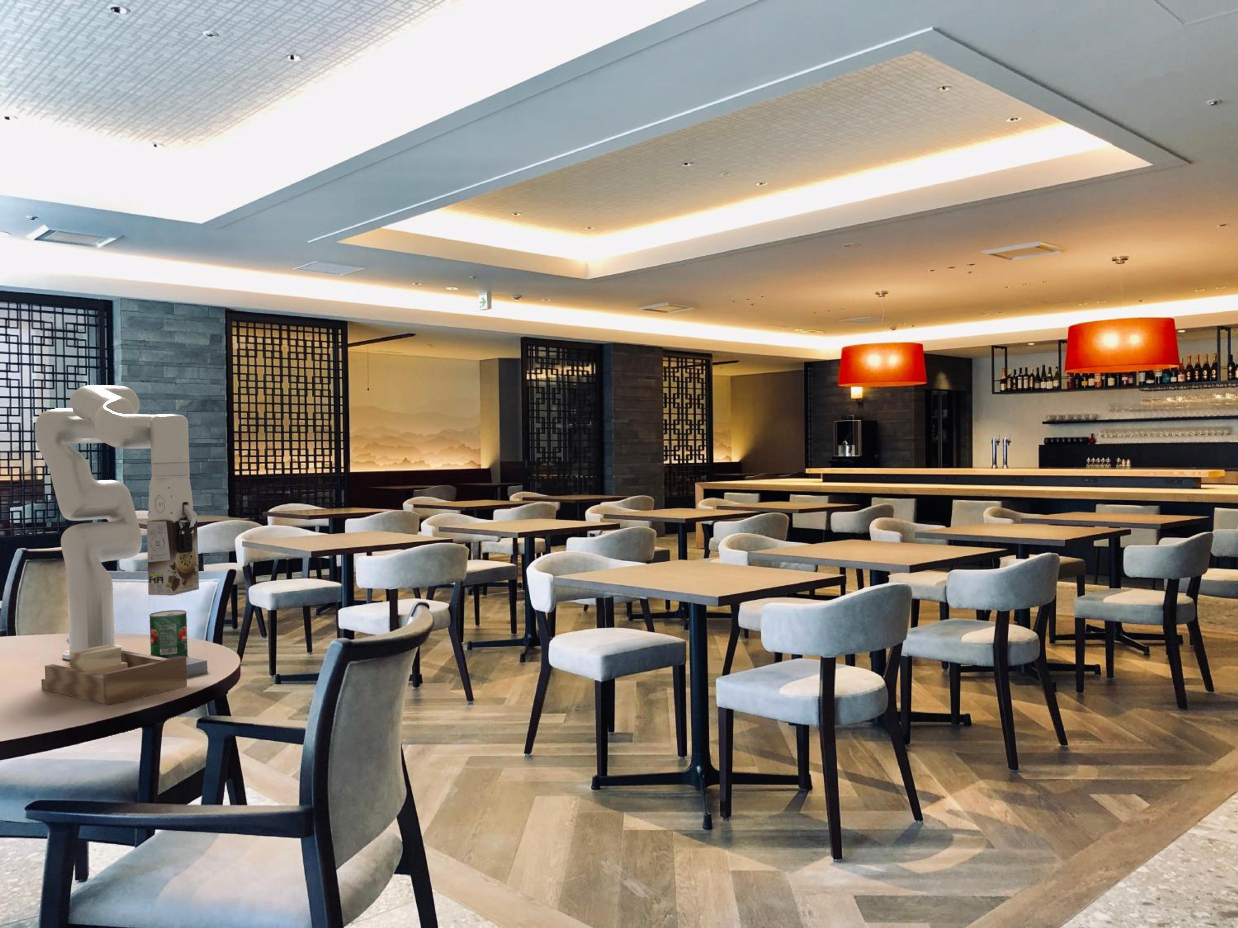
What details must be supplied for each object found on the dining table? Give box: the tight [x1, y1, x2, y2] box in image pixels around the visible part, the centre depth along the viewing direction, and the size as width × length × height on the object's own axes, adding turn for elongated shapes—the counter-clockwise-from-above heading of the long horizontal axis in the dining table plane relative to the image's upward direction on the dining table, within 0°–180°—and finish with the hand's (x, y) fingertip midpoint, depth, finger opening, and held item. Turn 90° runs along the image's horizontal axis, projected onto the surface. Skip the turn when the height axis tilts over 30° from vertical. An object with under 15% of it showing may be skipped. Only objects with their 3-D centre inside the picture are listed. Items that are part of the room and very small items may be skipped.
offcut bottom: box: [87, 662, 128, 675], centre depth 204 cm, size 6×10×4 cm, turn 147°
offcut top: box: [69, 645, 122, 671], centre depth 204 cm, size 5×8×4 cm, turn 145°
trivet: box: [167, 656, 208, 677], centre depth 212 cm, size 10×8×2 cm
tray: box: [40, 649, 188, 706], centre depth 200 cm, size 25×16×6 cm, turn 57°
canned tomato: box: [148, 609, 189, 658], centre depth 225 cm, size 8×8×11 cm
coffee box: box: [146, 519, 200, 597], centre depth 211 cm, size 9×6×16 cm
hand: (173, 551), depth 211 cm, fingers closed on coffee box, 8 cm apart
